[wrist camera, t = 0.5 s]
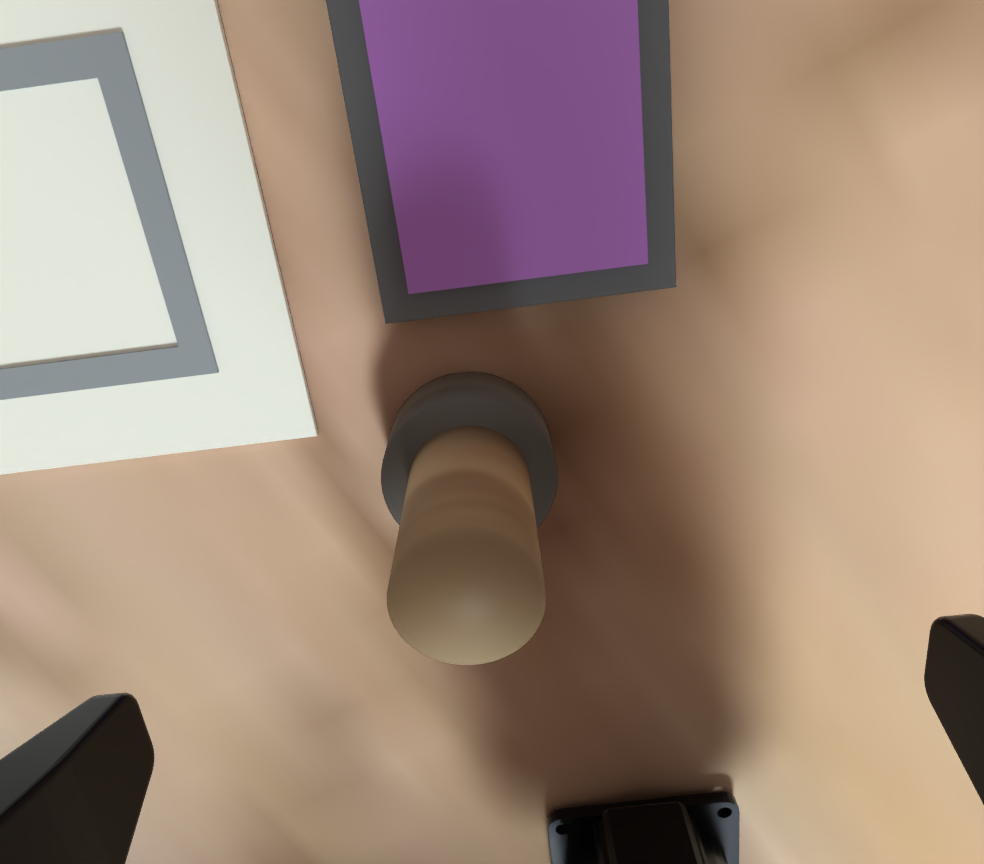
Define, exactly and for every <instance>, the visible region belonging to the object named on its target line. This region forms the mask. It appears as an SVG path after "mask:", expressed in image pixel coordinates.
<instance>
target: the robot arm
mask: <svg viewBox="0 0 984 864" xmlns="http://www.w3.org/2000/svg"><path fill="white" fill-rule="evenodd" d="M924 681H925V688H926V692H927V695H928V698H929V700H930V702H931V704H932V706H933V708H934V710H935V712H936V714H937V716H938V718H939V720H940V722H941V724H942V726H943V727H944V729H945V731H946V733H947V735H948V737H949V739H950V741H951V743H952V745H953V747H954V749H955V750H956V752H957V754H958V756H959V758H960V760H961V762H962V764H963V766H964V768H965V770H966V772H967V774H968V775H969V777H970V779H971V781H972V783H973V785H974V787H975V789H976V791H977V793H978V795H979V797H980V798H981V800H982V802H983V804H984V617H981V616H979V615H975V614H963V615H953V616H942V617H939V618H937V619H936V620H935V621H934V622H933V624H932V625H931V629H930V636H929V643H928V651H927V659H926V666H925V674H924ZM153 766H154V749H153V745H152V742H151V739H150V736H149V733H148V730H147V728H146V725H145V722H144V719H143V716H142V713H141V710H140V708H139V705H138V702H137V700H136V699H135V698H134V696H133V695H131V694H128V693H116V694H105V695H97V696H94V697H91V698H90V699H88V700H86V701H85V702H84V703H82V704H81V705H79V706H78V707H76V708H75V709H73V710H72V711H70V712H69V713H68V714H66V715H65V716H63V717H62V718H60V719H59V720H57V721H56V722H54V723H53V724H52V725H50V726H49V727H47V728H46V729H44V730H43V731H41V732H40V733H38V734H37V735H36V736H34V737H33V738H31V739H30V740H28V741H27V742H25V743H24V744H22V745H21V746H20V747H18V748H17V749H15V750H14V751H12V752H11V753H9V754H8V755H6V756H5V757H4V758H2V759H1V760H0V864H125V862H126V859H127V855H128V852H129V849H130V845H131V842H132V839H133V835H134V832H135V829H136V825H137V822H138V818H139V815H140V812H141V808H142V805H143V802H144V798H145V795H146V791H147V788H148V785H149V781H150V778H151V775H152V771H153ZM561 824H562V825H561ZM547 825H548V834H549V842H550V849H551V857H552V864H739V808H738V805H737V803H736V800H735V797H734V796H733V795H732V794H729V793H727V792H718V793H709V794H699V795H689V796H680V797H670V798H661V799H651V800H641V801H632V802H622V803H612V804H603V805H593V806H584V807H574V808H564V809H558V810H554V811H553V812H551V813H550V814H549V816H548V818H547Z"/></svg>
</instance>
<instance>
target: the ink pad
mask: <svg viewBox="0 0 984 864" xmlns="http://www.w3.org/2000/svg"><path fill="white" fill-rule="evenodd" d="M326 3H327V8H328V13H329V19H330V24H331V30H332V35H333V41H334V46H335V51H336V57H337V62H338V68H339V73H340V78H341V84H342V89H343V95H344V100H345V106H346V111H347V116H348V122H349V127H350V133H351V138H352V143H353V149H354V154H355V160H356V165H357V171H358V176H359V181H360V187H361V192H362V198H363V203H364V208H365V214H366V219H367V225H368V230H369V236H370V241H371V246H372V252H373V257H374V263H375V268H376V273H377V279H378V284H379V290H380V295H381V301H382V306H383V311H384V317H385V322H386V324H387V323H395V322H403V321H411V320H419V319H427V318H434V317H442V316H450V315H458V314H466V313H474V312H482V311H490V310H498V309H506V308H514V307H522V306H530V305H537V304H545V303H553V302H561V301H569V300H577V299H585V298H593V297H601V296H609V295H617V294H625V293H632V292H640V291H648V290H656V289H664V288H672V287H676V263H675V225H674V188H673V151H672V114H671V76H670V39H669V2H668V0H326Z"/></svg>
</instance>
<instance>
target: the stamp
mask: <svg viewBox="0 0 984 864" xmlns="http://www.w3.org/2000/svg"><path fill="white" fill-rule="evenodd" d="M381 484H382V492H383V495H384V499H385V502H386V504H387V507H388V509H389V511H390V513H391V514H392V516H393V518H394V519H395V521H396V522H397V523H398V524H399V526H400V527H399V532H398V538H397V543H396V548H395V553H394V559H393V564H392V569H391V575H390V580H389V585H388V591H387V607H388V612H389V616H390V619H391V621H392V623H393V625H394V627H395V629H396V630H397V632H398V633H399V635H400V636H401V637H402V638H403V639H404V641H405V642H406V643H408V644H409V645H410V646H411V647H412V648H414V649H415V650H417V651H418V652H420V653H421V654H423V655H425V656H427V657H429V658H432V659H434V660H437V661H440V662H444V663H449V664H455V665H478V664H484V663H489V662H493V661H496V660H499V659H501V658H504V657H506V656H508V655H510V654H512V653H514V652H515V651H517V650H518V649H519V648H521V647H522V646H523V645H524V644H525V643H527V642H528V641H529V640H530V638H531V637H532V636H533V635H534V634H535V632H536V631H537V629H538V627H539V626H540V623H541V621H542V619H543V616H544V612H545V607H546V590H545V583H544V576H543V569H542V562H541V555H540V547H539V540H538V533H537V528H538V526H539V525H540V524H541V523H542V521H543V520H544V519H545V517H546V515H547V514H548V512H549V510H550V508H551V506H552V503H553V501H554V497H555V494H556V488H557V467H556V462H555V457H554V452H553V448H552V443H551V439H550V434H549V430H548V427H547V424H546V421H545V418H544V416H543V414H542V412H541V410H540V409H539V407H538V406H537V404H536V403H535V402H534V401H533V400H532V398H531V397H530V396H529V395H528V394H527V393H525V392H524V391H523V390H522V389H521V388H519V387H518V386H516V385H515V384H513V383H511V382H509V381H507V380H505V379H503V378H500V377H497V376H494V375H491V374H486V373H480V372H459V373H454V374H448V375H445V376H442V377H439V378H437V379H434V380H432V381H430V382H428V383H426V384H425V385H423V386H422V387H420V388H419V389H418V390H416V391H415V392H414V393H413V394H412V395H411V396H410V397H409V398H408V399H407V400H406V401H405V402H404V404H403V405H402V407H401V408H400V410H399V412H398V414H397V416H396V418H395V420H394V423H393V426H392V429H391V433H390V437H389V440H388V444H387V448H386V451H385V455H384V459H383V464H382V470H381Z"/></svg>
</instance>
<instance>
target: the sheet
mask: <svg viewBox="0 0 984 864" xmlns="http://www.w3.org/2000/svg"><path fill="white" fill-rule="evenodd" d="M317 435H318V429H317V425H316V420H315V416H314V412H313V408H312V403H311V399H310V395H309V391H308V386H307V382H306V378H305V374H304V369H303V365H302V361H301V357H300V352H299V348H298V344H297V340H296V335H295V331H294V327H293V323H292V318H291V314H290V310H289V306H288V301H287V297H286V293H285V289H284V284H283V280H282V276H281V272H280V267H279V263H278V259H277V255H276V250H275V246H274V242H273V238H272V233H271V229H270V225H269V221H268V216H267V212H266V208H265V203H264V199H263V195H262V191H261V186H260V182H259V178H258V174H257V169H256V165H255V161H254V157H253V152H252V148H251V144H250V140H249V135H248V131H247V127H246V123H245V118H244V114H243V110H242V106H241V101H240V97H239V93H238V89H237V84H236V80H235V76H234V72H233V67H232V63H231V59H230V55H229V50H228V46H227V42H226V38H225V33H224V29H223V25H222V21H221V16H220V12H219V8H218V4H217V0H0V474H9V473H17V472H25V471H33V470H41V469H50V468H58V467H66V466H74V465H83V464H91V463H99V462H107V461H115V460H124V459H132V458H140V457H148V456H157V455H165V454H173V453H181V452H189V451H198V450H206V449H214V448H222V447H231V446H239V445H247V444H255V443H263V442H272V441H280V440H288V439H296V438H305V437H313V436H317Z"/></svg>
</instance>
